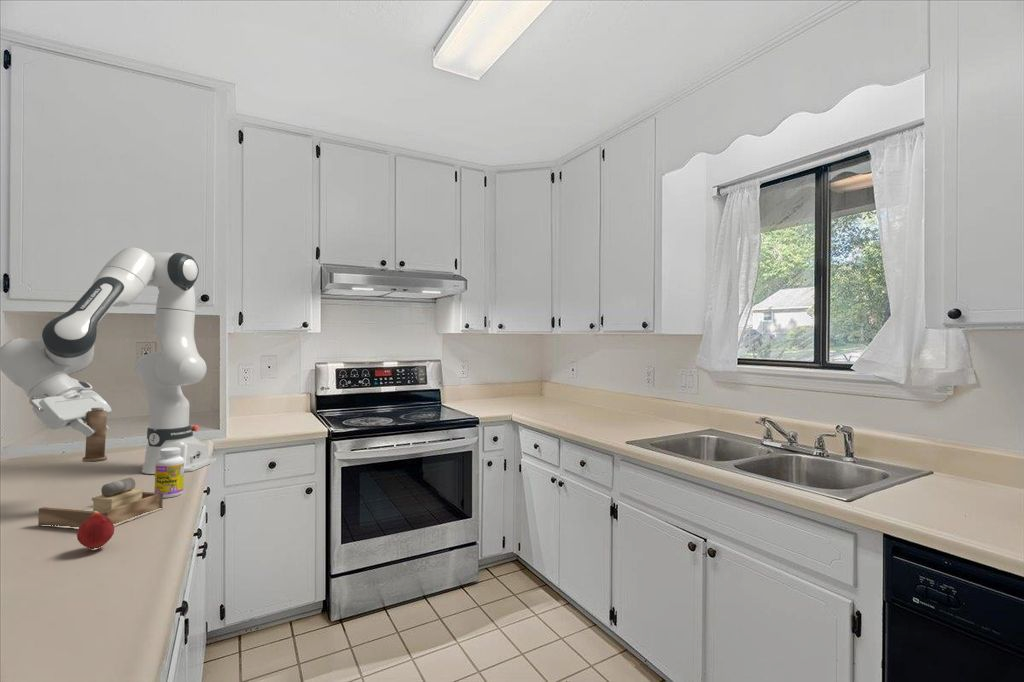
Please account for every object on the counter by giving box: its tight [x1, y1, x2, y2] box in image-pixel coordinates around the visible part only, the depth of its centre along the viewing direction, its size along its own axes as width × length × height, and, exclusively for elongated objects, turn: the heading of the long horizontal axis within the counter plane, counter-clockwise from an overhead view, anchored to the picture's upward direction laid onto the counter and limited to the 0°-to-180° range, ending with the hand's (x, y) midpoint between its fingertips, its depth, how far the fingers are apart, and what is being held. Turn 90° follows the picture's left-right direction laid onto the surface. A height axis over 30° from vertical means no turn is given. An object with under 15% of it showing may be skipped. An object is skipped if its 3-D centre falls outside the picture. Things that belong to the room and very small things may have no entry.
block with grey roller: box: [91, 477, 145, 512], centre depth 121 cm, size 8×5×9 cm, turn 171°
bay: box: [37, 491, 164, 527], centre depth 122 cm, size 16×17×4 cm
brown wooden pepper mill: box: [81, 408, 108, 463], centre depth 128 cm, size 5×5×13 cm
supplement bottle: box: [153, 447, 185, 499], centre depth 140 cm, size 7×7×13 cm
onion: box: [76, 511, 115, 550], centre depth 103 cm, size 6×6×8 cm
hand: (99, 432), depth 128 cm, fingers closed on brown wooden pepper mill, 4 cm apart
